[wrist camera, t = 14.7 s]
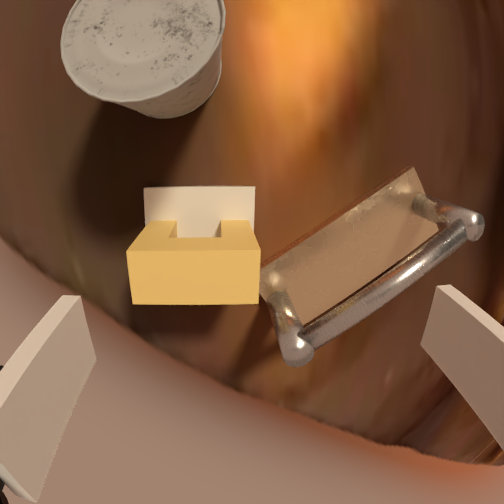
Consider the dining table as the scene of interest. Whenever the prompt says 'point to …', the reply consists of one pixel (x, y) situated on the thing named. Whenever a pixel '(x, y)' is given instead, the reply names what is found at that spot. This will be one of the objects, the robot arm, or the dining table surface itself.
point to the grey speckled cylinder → (145, 52)
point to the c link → (194, 266)
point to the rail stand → (359, 262)
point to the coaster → (199, 207)
